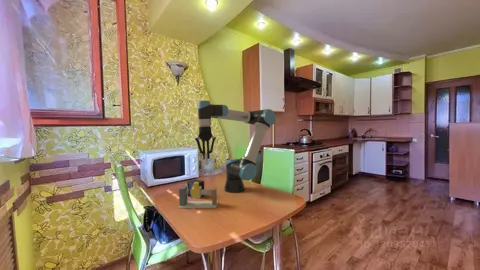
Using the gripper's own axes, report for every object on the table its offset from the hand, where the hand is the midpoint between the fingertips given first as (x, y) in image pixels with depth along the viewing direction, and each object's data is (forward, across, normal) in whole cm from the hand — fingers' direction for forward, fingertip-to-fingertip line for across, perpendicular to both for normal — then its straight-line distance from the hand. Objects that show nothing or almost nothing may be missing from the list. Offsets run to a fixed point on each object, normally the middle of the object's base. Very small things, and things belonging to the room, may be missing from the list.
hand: (206, 164), depth 125 cm
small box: (+25, +11, -15) cm, 31 cm away
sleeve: (+19, +7, +2) cm, 20 cm away
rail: (+24, +5, +2) cm, 25 cm away
